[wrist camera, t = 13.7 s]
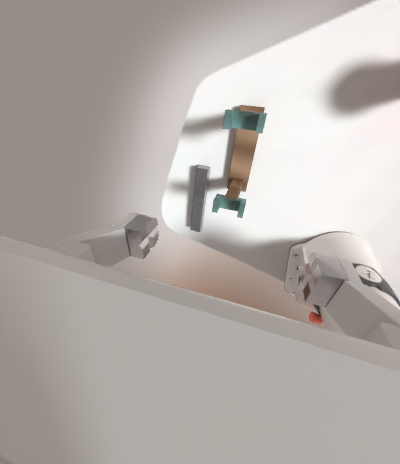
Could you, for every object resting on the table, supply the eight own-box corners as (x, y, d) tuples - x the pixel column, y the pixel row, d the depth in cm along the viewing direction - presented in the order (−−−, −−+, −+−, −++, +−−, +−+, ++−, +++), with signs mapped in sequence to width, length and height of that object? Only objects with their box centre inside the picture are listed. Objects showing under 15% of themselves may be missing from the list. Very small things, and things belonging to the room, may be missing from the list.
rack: (248, 189, 42) (241, 220, 30) (226, 185, 42) (211, 214, 31) (267, 107, 33) (267, 109, 22) (239, 105, 34) (225, 105, 23)
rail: (202, 227, 51) (199, 232, 49) (193, 224, 51) (190, 229, 49) (210, 166, 42) (207, 169, 40) (199, 164, 42) (196, 167, 40)
